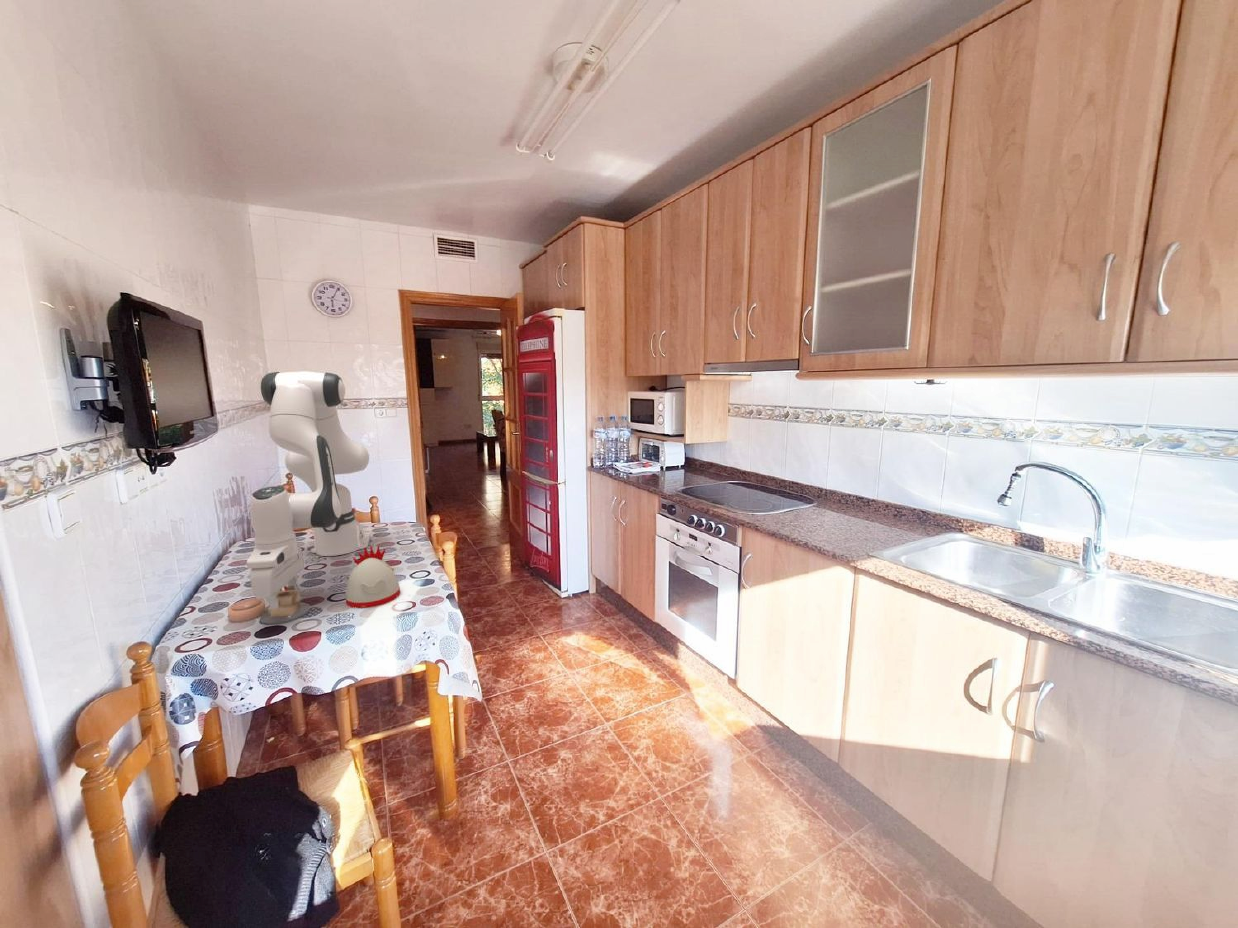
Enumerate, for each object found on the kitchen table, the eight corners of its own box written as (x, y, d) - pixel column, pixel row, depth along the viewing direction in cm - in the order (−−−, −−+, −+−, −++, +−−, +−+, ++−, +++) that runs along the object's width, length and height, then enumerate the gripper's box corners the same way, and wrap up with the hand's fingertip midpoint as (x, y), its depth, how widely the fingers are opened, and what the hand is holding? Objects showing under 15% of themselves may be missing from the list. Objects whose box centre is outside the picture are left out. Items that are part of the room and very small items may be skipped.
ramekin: (239, 610, 134) (237, 598, 133) (272, 607, 135) (270, 595, 135) (222, 624, 126) (220, 611, 125) (257, 620, 128) (255, 608, 127)
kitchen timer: (402, 600, 138) (397, 549, 135) (346, 612, 131) (340, 559, 128) (397, 583, 149) (392, 536, 147) (345, 593, 143) (339, 544, 140)
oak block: (280, 608, 132) (277, 590, 132) (300, 606, 133) (298, 589, 133) (271, 617, 128) (268, 598, 127) (292, 615, 129) (289, 596, 128)
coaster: (273, 606, 135) (273, 604, 135) (317, 602, 137) (316, 600, 137) (252, 626, 124) (251, 624, 124) (300, 621, 126) (299, 619, 126)
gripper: (282, 538, 137) (289, 584, 139) (242, 565, 117) (250, 618, 120) (307, 536, 138) (313, 582, 141) (271, 562, 118) (279, 616, 121)
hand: (284, 599), depth 130 cm, fingers open, 8 cm apart
